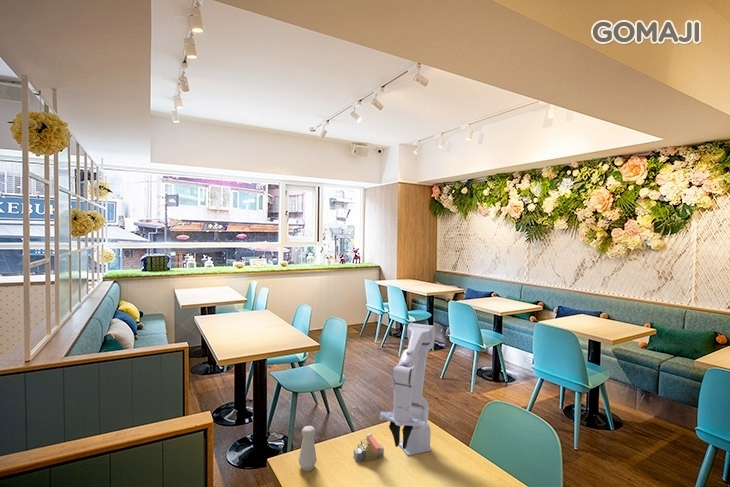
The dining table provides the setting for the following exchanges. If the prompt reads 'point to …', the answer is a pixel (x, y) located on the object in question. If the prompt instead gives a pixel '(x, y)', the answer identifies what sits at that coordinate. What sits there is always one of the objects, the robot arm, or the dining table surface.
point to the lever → (373, 443)
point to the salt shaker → (307, 449)
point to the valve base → (366, 452)
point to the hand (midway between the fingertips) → (401, 446)
